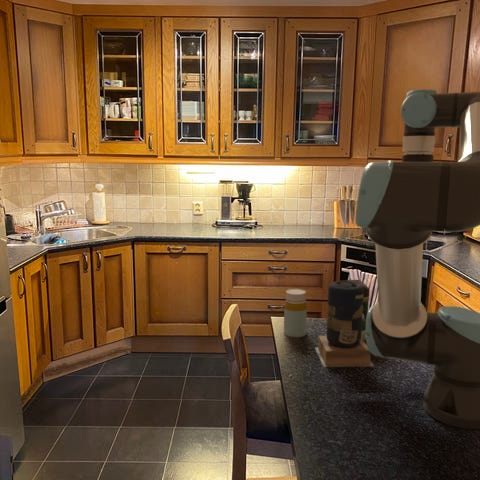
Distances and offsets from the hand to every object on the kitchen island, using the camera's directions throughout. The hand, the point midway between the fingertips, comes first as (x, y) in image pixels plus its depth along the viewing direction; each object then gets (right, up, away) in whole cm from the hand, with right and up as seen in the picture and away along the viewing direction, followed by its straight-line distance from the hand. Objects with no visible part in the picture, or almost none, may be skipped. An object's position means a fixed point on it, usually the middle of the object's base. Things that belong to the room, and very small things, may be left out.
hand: (412, 235), depth 127 cm
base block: (-16, -34, +9) cm, 39 cm away
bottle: (-28, -32, +27) cm, 50 cm away
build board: (-17, -35, +8) cm, 40 cm away
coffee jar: (-10, -32, +25) cm, 42 cm away
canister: (-16, -30, +8) cm, 35 cm away
